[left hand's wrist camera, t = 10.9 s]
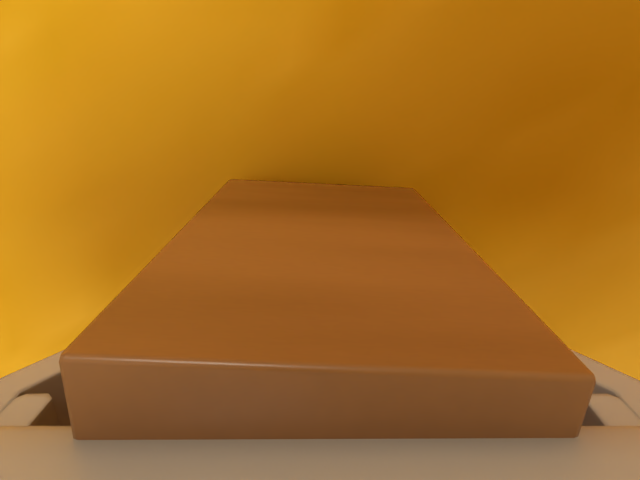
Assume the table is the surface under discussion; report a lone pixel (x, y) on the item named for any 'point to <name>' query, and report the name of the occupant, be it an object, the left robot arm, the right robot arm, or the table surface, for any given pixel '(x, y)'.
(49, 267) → the table surface
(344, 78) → the table surface
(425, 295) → the bar
